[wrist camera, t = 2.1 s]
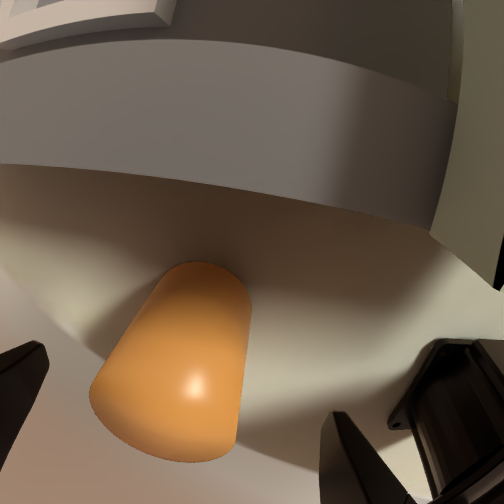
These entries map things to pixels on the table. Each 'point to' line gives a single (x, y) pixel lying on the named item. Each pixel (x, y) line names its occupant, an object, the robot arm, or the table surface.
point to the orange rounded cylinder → (179, 367)
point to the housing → (238, 95)
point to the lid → (477, 150)
